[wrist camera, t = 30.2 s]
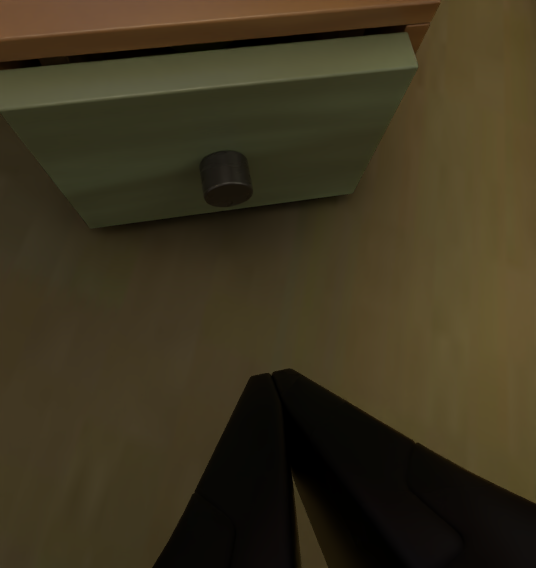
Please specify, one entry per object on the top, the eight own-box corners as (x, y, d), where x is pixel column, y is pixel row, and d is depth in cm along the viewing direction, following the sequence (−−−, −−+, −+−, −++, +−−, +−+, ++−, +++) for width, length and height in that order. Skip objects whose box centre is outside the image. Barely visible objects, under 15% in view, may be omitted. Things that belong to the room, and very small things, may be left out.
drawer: (360, 220, 19) (432, 104, 12) (92, 258, 17) (-3, 153, 11) (302, -10, 22) (332, -207, 15) (72, 9, 21) (-10, -196, 14)
